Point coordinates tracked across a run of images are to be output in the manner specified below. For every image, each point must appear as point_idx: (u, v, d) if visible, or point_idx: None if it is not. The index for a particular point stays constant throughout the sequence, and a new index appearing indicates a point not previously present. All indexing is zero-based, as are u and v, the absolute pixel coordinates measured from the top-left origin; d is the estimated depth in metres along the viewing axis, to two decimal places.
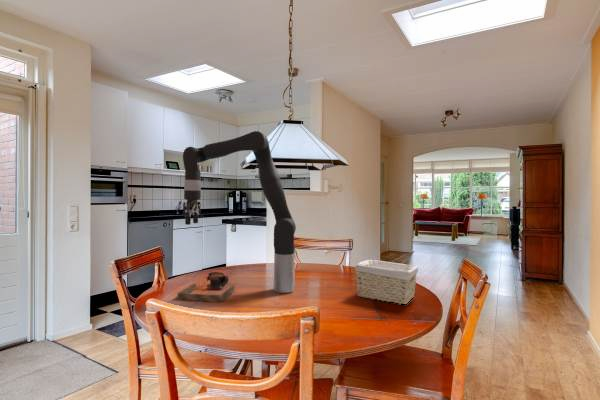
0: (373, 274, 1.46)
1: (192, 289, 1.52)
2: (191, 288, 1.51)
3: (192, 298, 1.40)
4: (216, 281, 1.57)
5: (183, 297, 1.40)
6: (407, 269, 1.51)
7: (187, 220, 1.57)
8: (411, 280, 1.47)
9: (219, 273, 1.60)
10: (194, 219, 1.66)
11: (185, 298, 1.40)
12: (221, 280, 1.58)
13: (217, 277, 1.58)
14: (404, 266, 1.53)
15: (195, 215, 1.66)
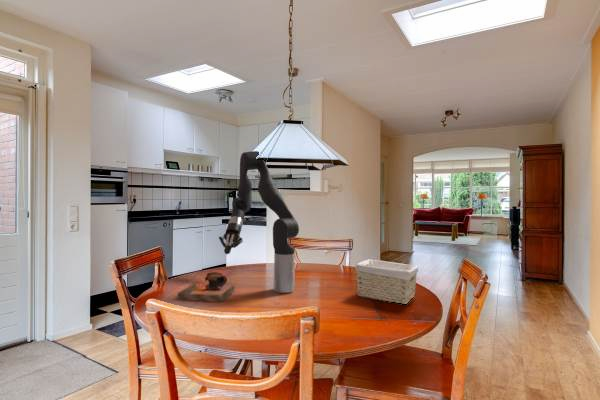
0: (373, 274, 1.46)
1: (192, 289, 1.52)
2: (191, 288, 1.51)
3: (192, 298, 1.40)
4: (215, 282, 1.56)
5: (183, 297, 1.40)
6: (407, 269, 1.52)
7: None
8: (411, 280, 1.47)
9: (217, 273, 1.59)
10: None
11: (185, 298, 1.40)
12: (219, 280, 1.57)
13: (215, 277, 1.57)
14: (404, 266, 1.53)
15: None
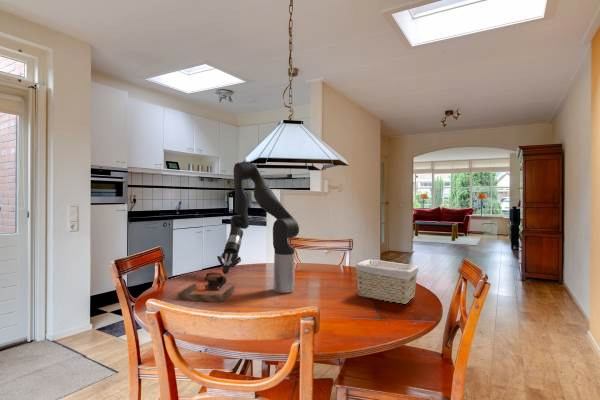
0: (373, 274, 1.46)
1: (192, 289, 1.52)
2: (191, 288, 1.51)
3: (192, 298, 1.40)
4: (214, 282, 1.56)
5: (183, 297, 1.40)
6: (407, 269, 1.52)
7: None
8: (411, 280, 1.47)
9: (217, 273, 1.59)
10: None
11: (185, 298, 1.40)
12: (219, 280, 1.57)
13: (215, 277, 1.57)
14: (404, 266, 1.53)
15: None
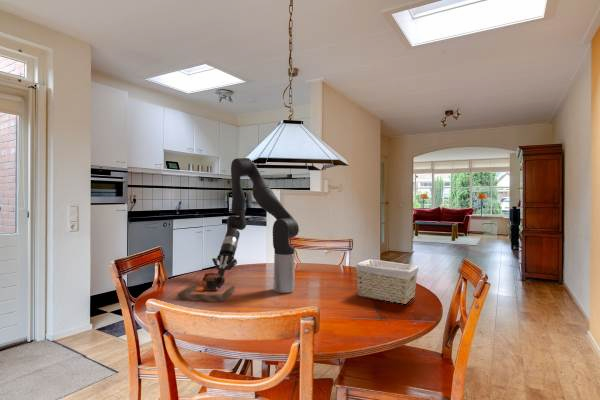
0: (373, 274, 1.47)
1: (192, 289, 1.52)
2: (191, 288, 1.51)
3: (192, 298, 1.40)
4: (213, 282, 1.54)
5: (183, 297, 1.40)
6: (408, 269, 1.52)
7: None
8: (411, 280, 1.47)
9: (215, 274, 1.58)
10: None
11: (185, 298, 1.40)
12: (217, 281, 1.56)
13: (213, 278, 1.55)
14: (405, 266, 1.53)
15: None
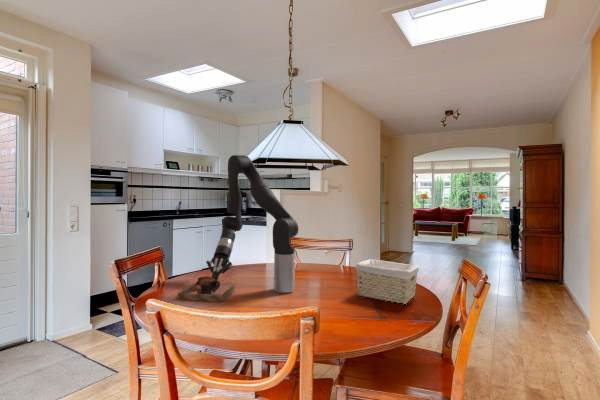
0: (373, 273, 1.47)
1: (192, 289, 1.52)
2: (191, 288, 1.51)
3: (192, 298, 1.40)
4: (207, 287, 1.47)
5: (183, 297, 1.40)
6: (408, 269, 1.52)
7: None
8: (411, 280, 1.48)
9: (210, 277, 1.51)
10: None
11: (185, 298, 1.40)
12: (212, 285, 1.49)
13: (208, 282, 1.48)
14: (405, 266, 1.54)
15: None
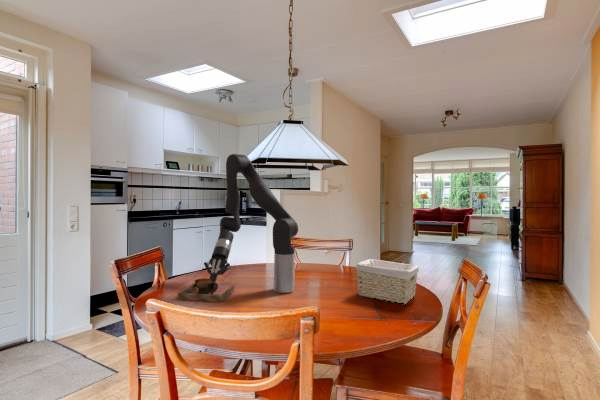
0: (373, 273, 1.47)
1: (192, 289, 1.52)
2: (191, 288, 1.51)
3: (192, 298, 1.40)
4: (205, 289, 1.44)
5: (183, 297, 1.40)
6: (408, 269, 1.52)
7: None
8: (411, 280, 1.48)
9: (207, 279, 1.48)
10: None
11: (185, 298, 1.40)
12: (210, 287, 1.46)
13: (205, 284, 1.45)
14: (405, 266, 1.54)
15: None
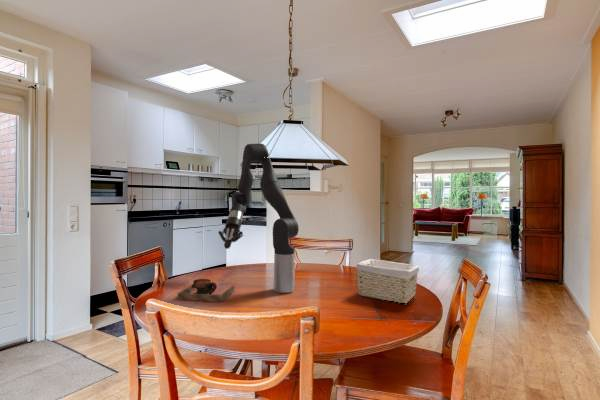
0: (374, 273, 1.47)
1: (192, 289, 1.52)
2: None
3: (192, 298, 1.40)
4: (204, 289, 1.44)
5: (183, 297, 1.40)
6: (408, 269, 1.53)
7: None
8: (412, 279, 1.48)
9: (206, 280, 1.47)
10: None
11: (185, 298, 1.40)
12: (208, 287, 1.45)
13: (204, 284, 1.45)
14: (405, 266, 1.54)
15: None
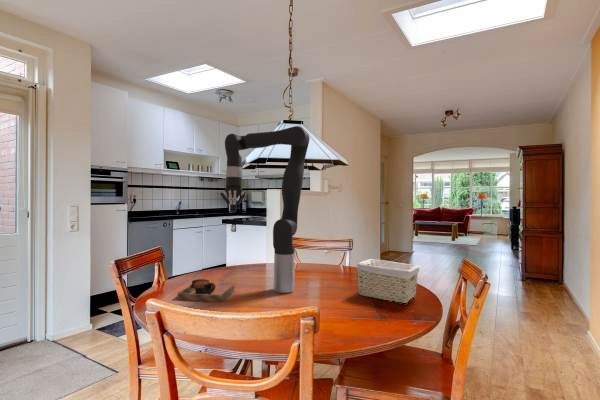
0: (374, 273, 1.48)
1: (192, 289, 1.52)
2: (191, 288, 1.51)
3: (192, 298, 1.40)
4: (202, 290, 1.43)
5: (183, 297, 1.40)
6: (408, 268, 1.53)
7: None
8: (412, 279, 1.48)
9: (204, 280, 1.46)
10: None
11: (185, 298, 1.40)
12: (207, 288, 1.44)
13: (203, 285, 1.44)
14: (405, 265, 1.54)
15: None
